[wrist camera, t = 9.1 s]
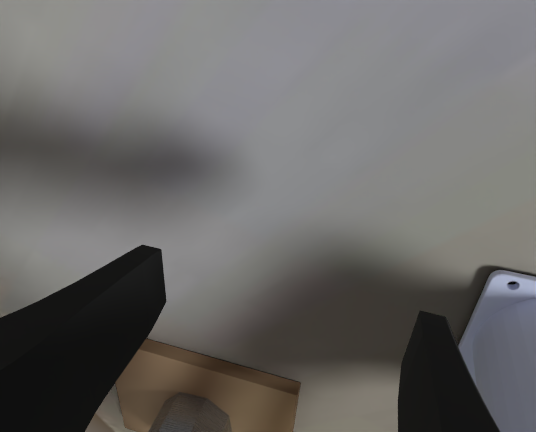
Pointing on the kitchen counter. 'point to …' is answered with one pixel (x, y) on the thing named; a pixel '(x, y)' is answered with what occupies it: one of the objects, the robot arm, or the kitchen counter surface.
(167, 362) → the thin wooden board
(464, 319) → the kitchen counter surface
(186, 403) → the hub
